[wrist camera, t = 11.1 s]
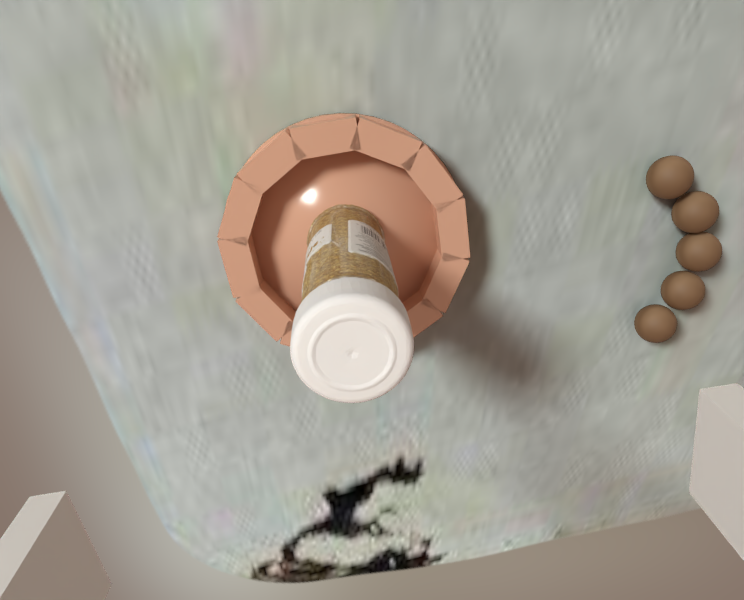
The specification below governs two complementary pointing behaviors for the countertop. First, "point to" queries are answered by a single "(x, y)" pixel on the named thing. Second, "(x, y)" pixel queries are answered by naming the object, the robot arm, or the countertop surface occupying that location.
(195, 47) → the countertop surface
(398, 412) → the countertop surface
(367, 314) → the sprinkles bottle
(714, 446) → the robot arm
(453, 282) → the saucer
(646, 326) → the bead string
